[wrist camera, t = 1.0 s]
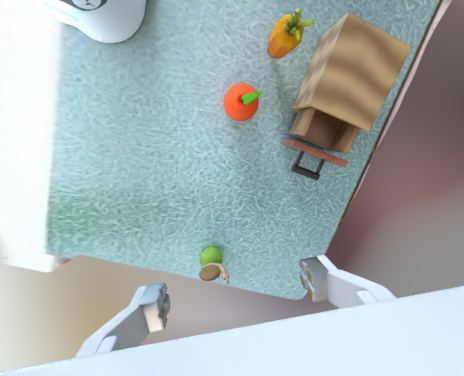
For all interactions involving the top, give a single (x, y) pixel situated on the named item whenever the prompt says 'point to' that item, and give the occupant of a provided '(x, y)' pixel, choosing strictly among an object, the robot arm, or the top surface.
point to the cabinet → (352, 72)
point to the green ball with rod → (212, 265)
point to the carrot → (286, 34)
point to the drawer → (320, 138)
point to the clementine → (241, 102)
